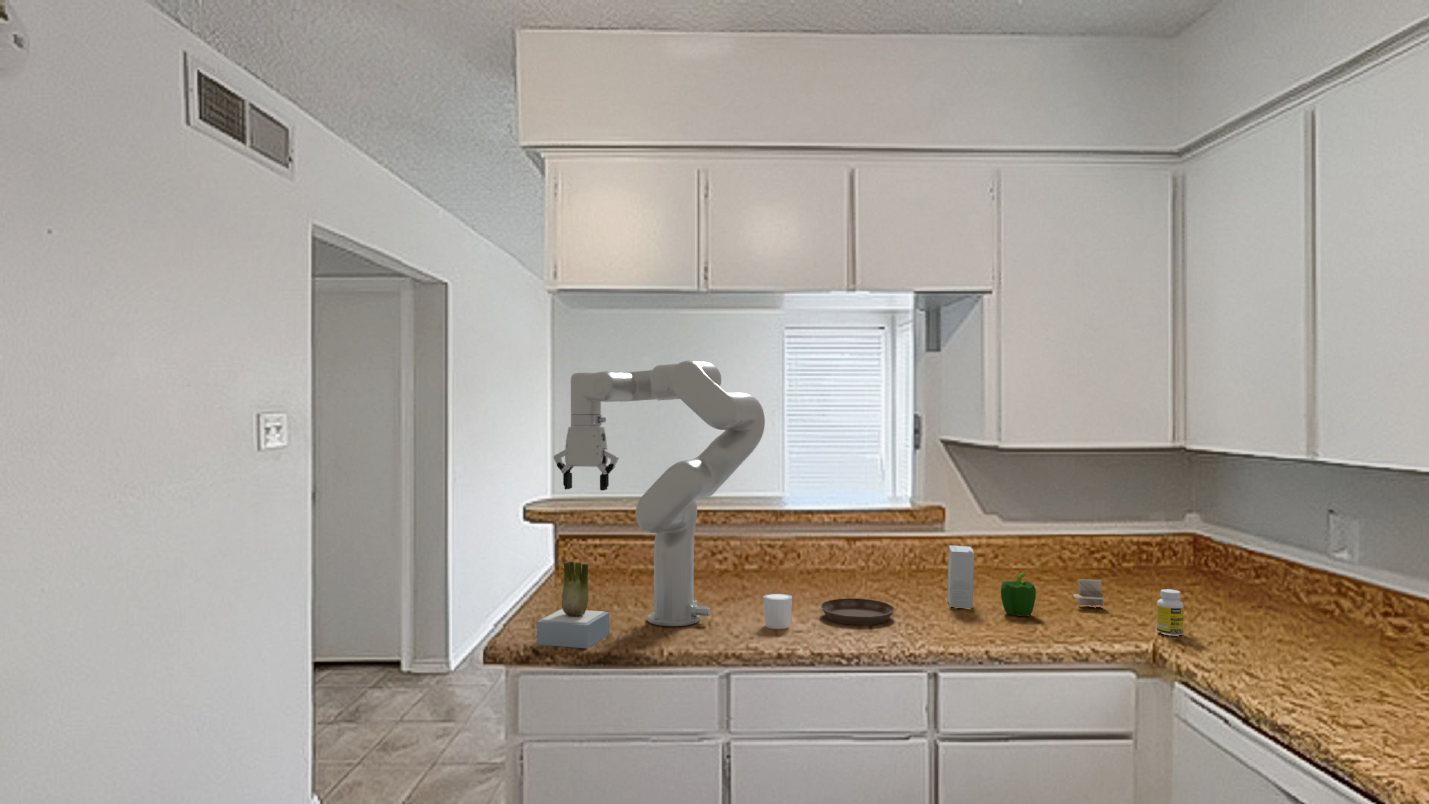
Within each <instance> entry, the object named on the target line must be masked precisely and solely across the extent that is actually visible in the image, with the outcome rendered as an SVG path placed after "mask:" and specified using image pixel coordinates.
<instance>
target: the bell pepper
mask: <svg viewBox="0 0 1429 804" xmlns="http://www.w3.org/2000/svg"><path fill="white" fill-rule="evenodd" d="M1025 577H1026V573H1024V572H1021V573H1019V574H1018V575H1017V579H1015V580H1012V581H1010V580H1004V581H1003V582H1002V583H1001V585H1000V586H1001V587H1000V599H1001V602H1002V606H1003V610H1004V612H1005V613H1006V614H1007V613H1008V614H1007V615H1009V614H1010V615H1011V616H1018V615H1021V616H1020V617H1028V616H1027V615H1029V616H1031V615H1032V613H1033V611H1034V607H1035V602H1036V597H1037V596H1036V594H1037V589H1036V587H1035V585H1034V584H1032V583H1031V581H1029V580H1027V581H1023V582H1022V578H1025Z"/></svg>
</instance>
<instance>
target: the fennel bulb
mask: <svg viewBox="0 0 1429 804" xmlns="http://www.w3.org/2000/svg"><path fill="white" fill-rule="evenodd" d="M588 574H589V563H582V562H579V561H577V562H575V561H572V560H571V561H565V562H563V577H564V582H563V586H562V587H563V589H562V593H561V594H562V595H561V609H563V611H564V613H565V614H567V615H571V616H579V615H583V614H585V611H586V610H587V608H588V603H589V576H588Z"/></svg>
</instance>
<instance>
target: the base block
mask: <svg viewBox="0 0 1429 804" xmlns="http://www.w3.org/2000/svg"><path fill="white" fill-rule="evenodd" d="M609 635H610V612H609V611H608V612H607V611H603V610H602V611H601V610H599V611H598V610H587V609H586V611H585V614H583V615H579V616H571V615H567V614H565V613H564V611H563V609H562V608H560V609H558V610H556V611H554V612H552V613H550V614H548V615H547V616H544V617H541V618H540V619H539V620H537V621H536V645H539V646H552V647H565V648H575V649H590V648H591V647H593V646H594V645H596V644H597V643H599V642H600V641H602V640H604V639H605V638H606V637H608V636H609Z"/></svg>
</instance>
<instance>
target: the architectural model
mask: <svg viewBox="0 0 1429 804" xmlns="http://www.w3.org/2000/svg"><path fill="white" fill-rule="evenodd" d="M1077 582H1078V583H1077V587H1078V589H1077V590H1078V592H1077V593H1074V594H1073V598H1075V599H1077V600H1078V601H1077V605H1091V606H1093V605H1095V606H1096V605H1102V606H1104V605H1105V604H1104V601H1105V600H1104V599H1105V597H1104V590H1102V580H1101V579H1099V580H1098V579H1078V580H1077ZM1104 607H1105V606H1104Z"/></svg>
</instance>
